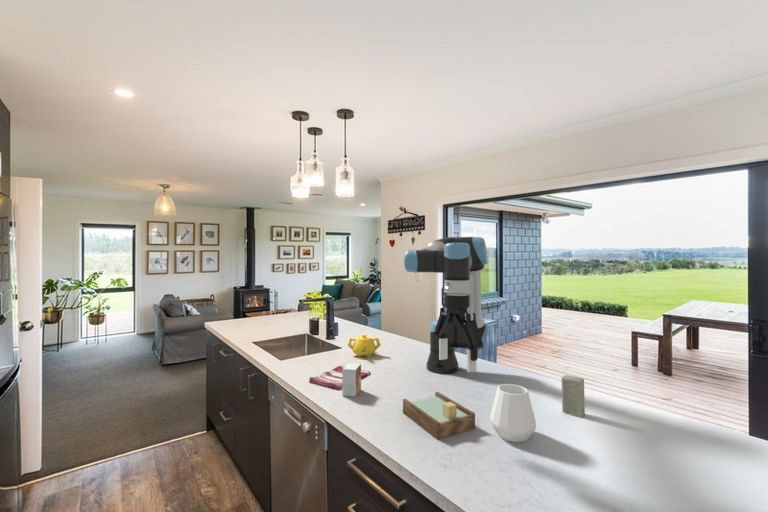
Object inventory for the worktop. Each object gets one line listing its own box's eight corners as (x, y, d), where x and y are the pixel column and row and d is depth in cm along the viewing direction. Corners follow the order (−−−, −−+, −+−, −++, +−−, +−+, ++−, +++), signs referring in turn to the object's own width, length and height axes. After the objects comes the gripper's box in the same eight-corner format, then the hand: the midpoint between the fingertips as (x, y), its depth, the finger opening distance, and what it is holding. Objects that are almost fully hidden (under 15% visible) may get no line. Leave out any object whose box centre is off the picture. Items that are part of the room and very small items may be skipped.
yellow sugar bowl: (380, 360, 185) (380, 339, 185) (345, 360, 186) (345, 339, 186) (381, 350, 205) (381, 330, 205) (349, 350, 206) (349, 330, 206)
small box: (355, 397, 138) (355, 370, 138) (342, 396, 139) (342, 369, 139) (361, 389, 146) (361, 363, 146) (348, 388, 147) (348, 362, 147)
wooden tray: (437, 404, 131) (437, 391, 131) (475, 428, 114) (475, 413, 114) (402, 413, 125) (402, 399, 125) (437, 439, 107) (437, 423, 107)
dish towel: (307, 383, 154) (307, 377, 154) (342, 369, 174) (342, 363, 174) (338, 391, 145) (338, 385, 145) (371, 375, 165) (371, 369, 165)
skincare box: (585, 413, 124) (585, 378, 124) (581, 418, 121) (581, 381, 121) (565, 408, 128) (565, 374, 128) (561, 412, 125) (561, 377, 125)
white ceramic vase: (531, 450, 101) (532, 401, 101) (484, 437, 108) (484, 391, 108) (539, 430, 112) (539, 386, 112) (496, 420, 119) (496, 378, 119)
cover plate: (436, 398, 130) (436, 385, 130) (469, 418, 114) (469, 403, 114) (407, 404, 124) (407, 391, 124) (438, 426, 108) (438, 410, 108)
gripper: (423, 291, 118) (423, 356, 118) (475, 299, 95) (474, 379, 95) (442, 290, 121) (442, 353, 121) (496, 297, 99) (496, 375, 99)
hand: (456, 365), depth 108 cm, fingers open, 13 cm apart
